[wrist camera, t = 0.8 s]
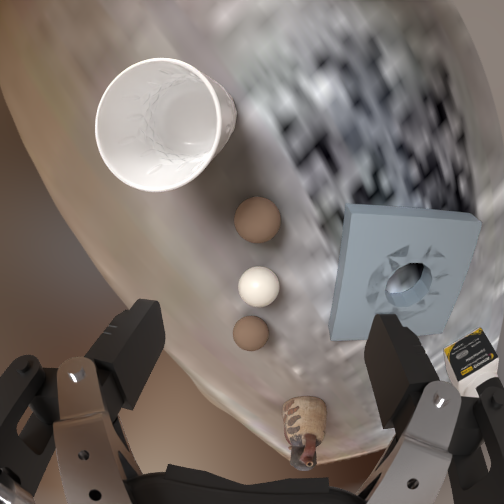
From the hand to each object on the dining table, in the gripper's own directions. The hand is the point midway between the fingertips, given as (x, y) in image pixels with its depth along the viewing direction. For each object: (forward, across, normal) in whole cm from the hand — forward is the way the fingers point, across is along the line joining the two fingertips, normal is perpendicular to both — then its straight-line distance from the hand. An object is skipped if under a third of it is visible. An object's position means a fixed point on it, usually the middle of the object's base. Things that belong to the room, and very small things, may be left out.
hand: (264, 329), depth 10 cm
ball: (+16, +1, +7) cm, 18 cm away
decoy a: (+15, +1, 0) cm, 16 cm away
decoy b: (+17, +2, +14) cm, 22 cm away
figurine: (+21, -7, +33) cm, 40 cm away
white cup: (+17, +7, -9) cm, 20 cm away
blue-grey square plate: (+18, -14, +6) cm, 24 cm away
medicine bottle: (+20, -31, +20) cm, 42 cm away
